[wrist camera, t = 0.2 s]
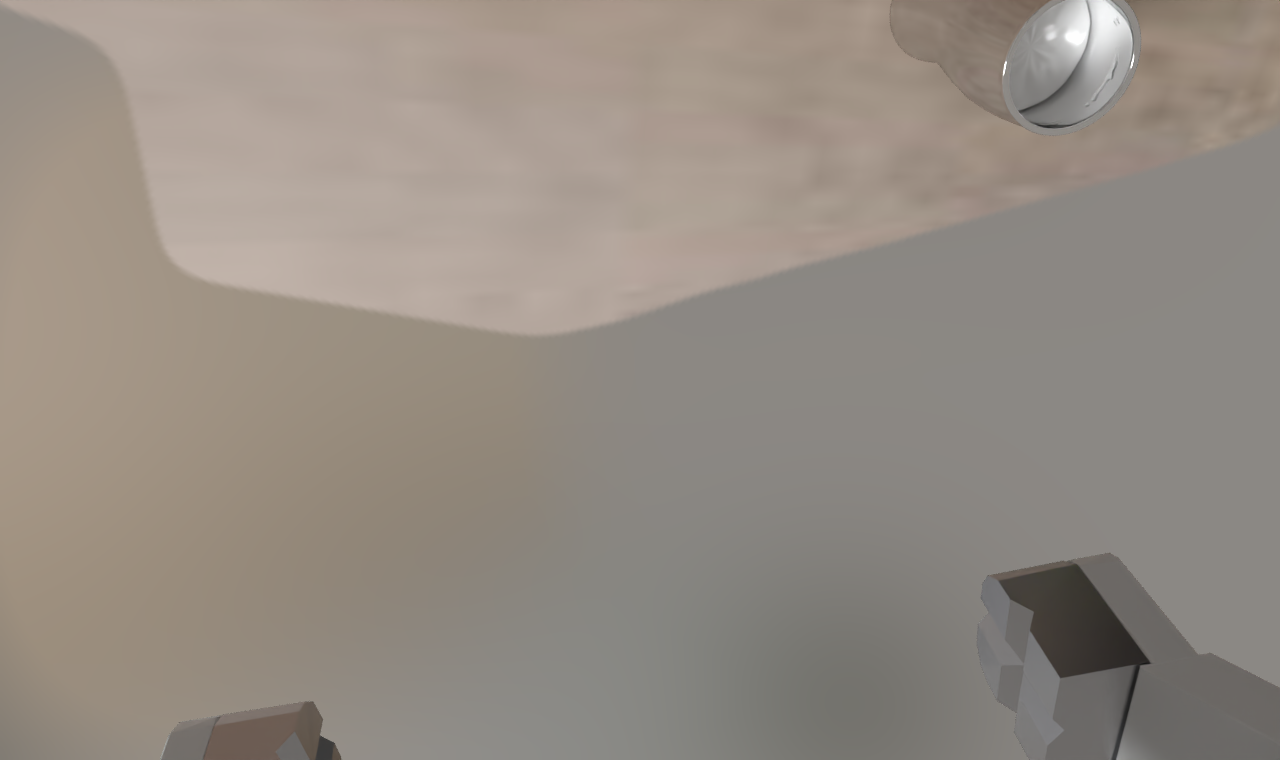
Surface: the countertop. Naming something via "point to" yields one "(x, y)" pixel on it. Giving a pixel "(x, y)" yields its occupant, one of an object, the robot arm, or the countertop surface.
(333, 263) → the countertop surface
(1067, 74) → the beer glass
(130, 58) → the countertop surface
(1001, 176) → the countertop surface
